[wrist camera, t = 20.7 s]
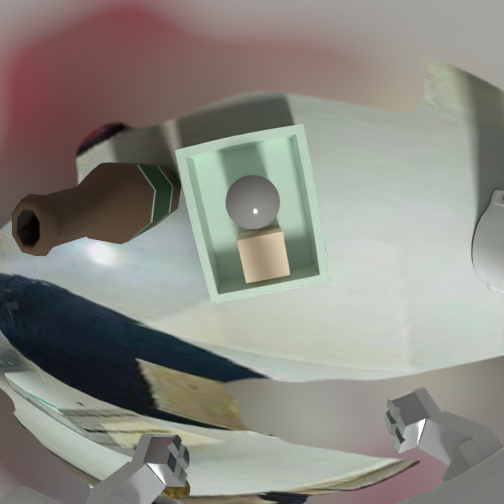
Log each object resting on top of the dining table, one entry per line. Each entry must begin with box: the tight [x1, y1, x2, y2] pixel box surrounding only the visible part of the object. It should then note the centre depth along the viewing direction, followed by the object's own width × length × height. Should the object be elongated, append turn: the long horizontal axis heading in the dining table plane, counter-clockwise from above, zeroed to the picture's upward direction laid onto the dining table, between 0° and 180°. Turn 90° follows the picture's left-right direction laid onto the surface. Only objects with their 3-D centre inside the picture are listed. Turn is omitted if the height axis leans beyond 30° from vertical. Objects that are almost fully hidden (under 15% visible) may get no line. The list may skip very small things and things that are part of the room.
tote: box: [175, 124, 329, 304], centre depth 34 cm, size 14×18×5 cm
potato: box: [161, 480, 190, 499], centre depth 47 cm, size 8×13×8 cm, turn 29°
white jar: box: [225, 175, 280, 229], centre depth 31 cm, size 5×5×8 cm
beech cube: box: [237, 224, 290, 283], centre depth 34 cm, size 5×5×5 cm
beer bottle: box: [12, 162, 181, 256], centre depth 24 cm, size 8×8×24 cm
